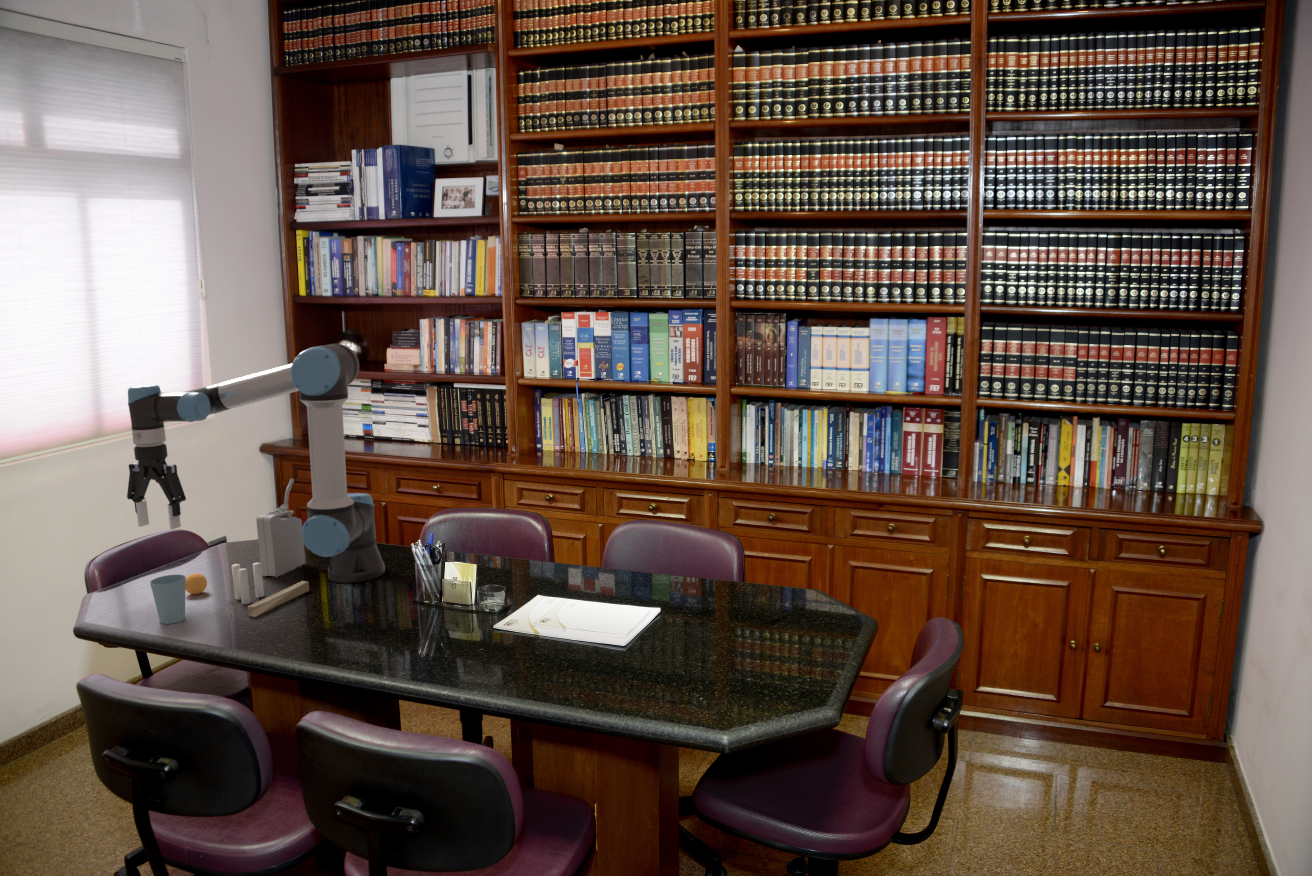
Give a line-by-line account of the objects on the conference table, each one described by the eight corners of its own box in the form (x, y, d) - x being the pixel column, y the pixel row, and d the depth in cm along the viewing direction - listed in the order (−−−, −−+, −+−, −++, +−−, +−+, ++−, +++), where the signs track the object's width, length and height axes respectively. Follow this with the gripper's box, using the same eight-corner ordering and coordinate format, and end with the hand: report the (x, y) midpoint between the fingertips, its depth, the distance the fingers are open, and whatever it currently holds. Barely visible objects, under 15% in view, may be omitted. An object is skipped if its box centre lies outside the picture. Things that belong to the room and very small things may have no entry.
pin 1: (252, 602, 239) (248, 568, 237) (246, 604, 237) (242, 571, 235) (245, 601, 239) (242, 568, 238) (240, 604, 237) (236, 570, 236)
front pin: (245, 597, 242) (241, 564, 241) (239, 600, 241) (235, 566, 239) (238, 596, 243) (235, 563, 241) (233, 599, 241) (229, 566, 240)
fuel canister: (297, 560, 274) (289, 477, 269) (311, 561, 272) (304, 478, 268) (261, 576, 259) (252, 489, 255) (275, 578, 258) (267, 490, 254)
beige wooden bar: (309, 590, 247) (308, 581, 246) (255, 616, 228) (254, 607, 228) (303, 590, 247) (302, 580, 247) (248, 616, 229) (247, 606, 228)
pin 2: (265, 595, 243) (262, 562, 242) (260, 598, 241) (257, 565, 240) (259, 595, 244) (256, 562, 242) (254, 597, 242) (250, 564, 241)
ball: (212, 591, 248) (210, 571, 247) (196, 598, 243) (194, 577, 242) (196, 589, 250) (194, 569, 249) (180, 596, 245) (178, 576, 244)
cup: (189, 622, 225) (184, 581, 223) (153, 628, 222) (148, 586, 220) (191, 612, 232) (186, 572, 230) (156, 617, 229) (151, 577, 227)
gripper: (104, 445, 243) (114, 527, 246) (172, 448, 235) (182, 533, 239) (128, 440, 250) (138, 520, 253) (195, 443, 242) (204, 525, 246)
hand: (159, 526), depth 246 cm, fingers open, 10 cm apart
